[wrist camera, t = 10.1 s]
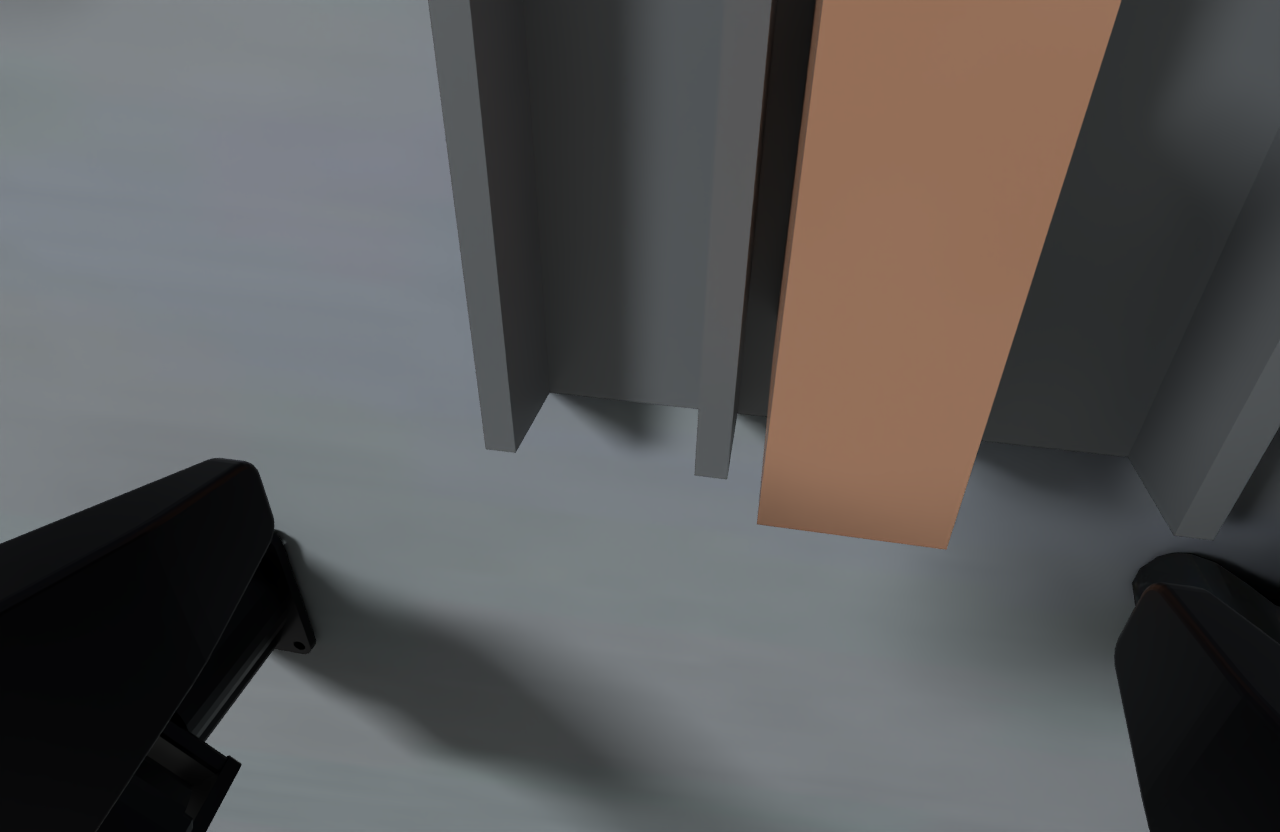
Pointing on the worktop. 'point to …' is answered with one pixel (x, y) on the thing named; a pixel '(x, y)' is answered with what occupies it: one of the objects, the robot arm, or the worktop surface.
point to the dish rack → (759, 212)
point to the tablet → (1211, 587)
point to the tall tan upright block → (914, 248)
